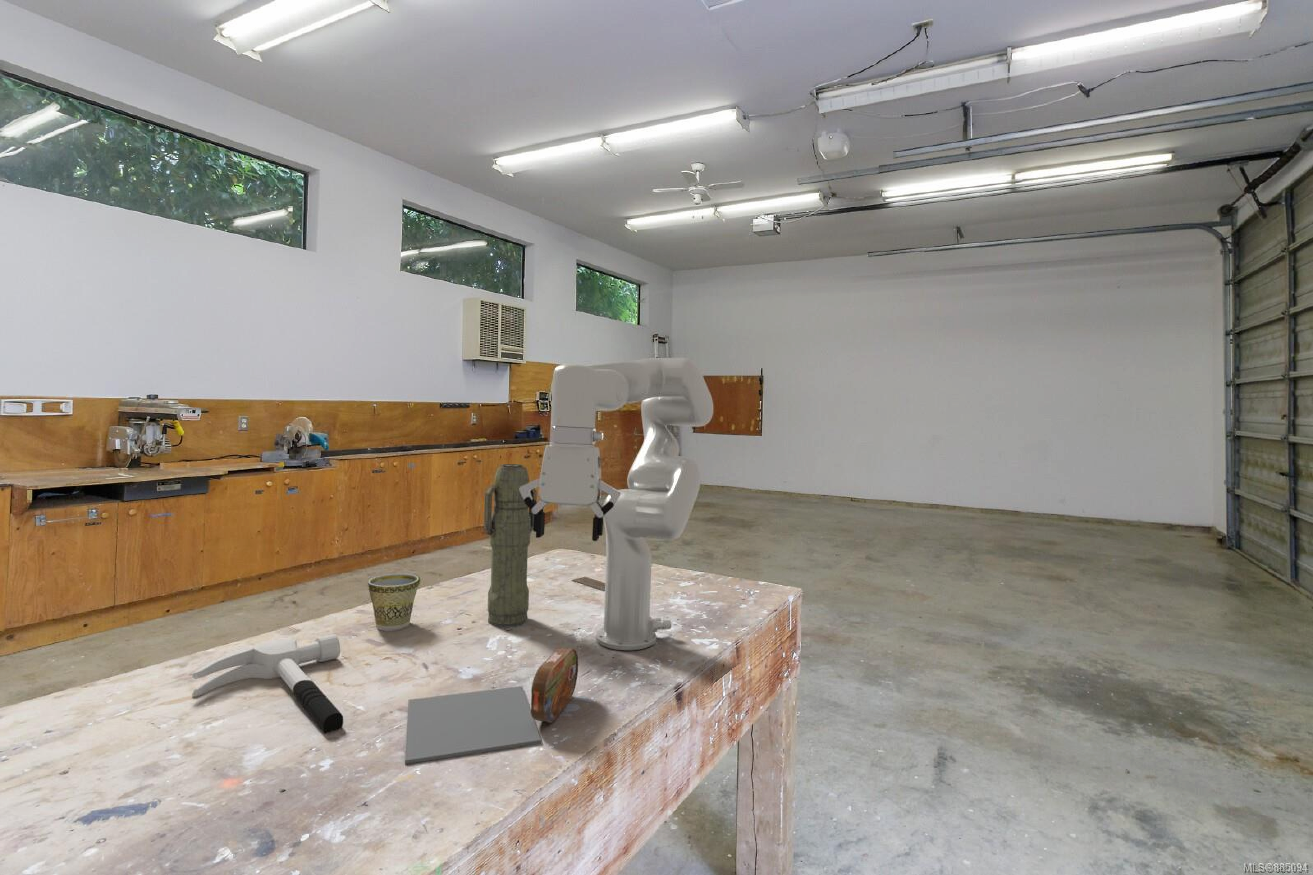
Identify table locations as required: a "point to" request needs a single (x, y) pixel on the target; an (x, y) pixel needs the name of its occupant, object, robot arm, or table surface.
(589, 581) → the wooden plank
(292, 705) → the table surface
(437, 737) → the mat
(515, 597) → the thermos
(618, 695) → the table surface
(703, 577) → the table surface
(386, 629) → the ceramic cup
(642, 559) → the robot arm
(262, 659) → the claw hammer
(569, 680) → the tin
